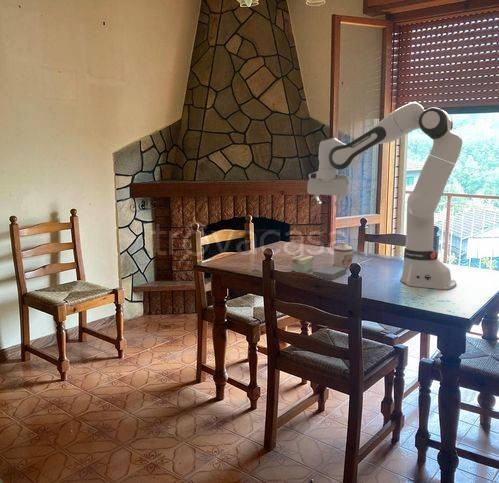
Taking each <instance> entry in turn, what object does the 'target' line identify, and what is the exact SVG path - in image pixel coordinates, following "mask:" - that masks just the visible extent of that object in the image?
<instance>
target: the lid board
mask: <svg viewBox="0 0 499 483" xmlns="http://www.w3.org/2000/svg"><path fill="white" fill-rule="evenodd" d="M314 258H315V256H313V255H307V254H300V255H297V256H294V257H291V258H290V264H292V263H295V264H301V265H303V264H306V263H309V262H311V261H314V260H315V259H314Z"/></svg>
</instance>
